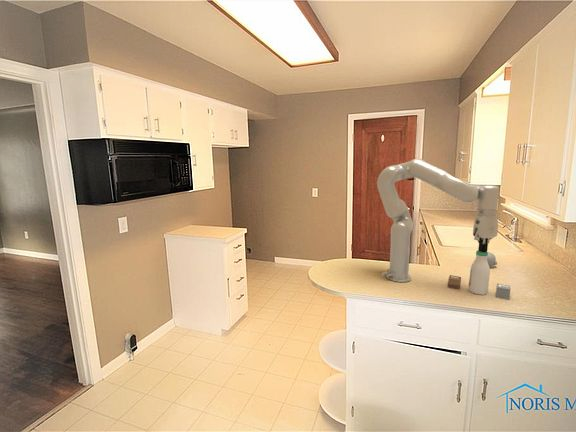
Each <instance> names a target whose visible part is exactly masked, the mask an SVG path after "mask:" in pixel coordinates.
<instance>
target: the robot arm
mask: <svg viewBox="0 0 576 432" xmlns="http://www.w3.org/2000/svg"><path fill="white" fill-rule="evenodd" d="M411 178H416V179H418V180H420V181H422V182H424V183H427V184H429V185H430V186H432V187H435V188H436V189H438V190H439V191H442V192H444V193H446V194H448V195H450V196H451V197H454V198H456V199H458V201H459V200H460V201H461V202H464V203H473V202H474V201H476V200H477V206H476V216H475V218H474V223H473V228H472V229H473V230H472V235H473V237H474V238H473V240H474V241H477V243H478V247H477V249H478V250H477V251H481V252H488V249H489V248H488V247H489V244H490V241H491V240H493V239H494V238H496V237H497V236H498V231H499V229H498V228H499V222H498V221H499V220H498V215H497V212H498V202H499V195H500V194H499V193H500V188H499V186H498V185H495V184H494V185H493V184H488V185H487V184H483V185H479V184H471V183H466V182H464V181H462V180H459V179H458V178H456V177H454V176H453V175H452V174H450V173H449V172H447V171H446V170H444V169H442V168H439V167H437V166H435V165H433V164H431V163H429V162H428V161H425V159H424V160H423V159H422V158H414V159H412V160H409V161H407V162H402V163H397V164H395V165H390V166H387V167H384V169H383V170H382V171H381V172H380V173H379V174H378V177H377V180H376V181H377V182H376V184H377V185H376V187H377V190H378V193H379V196H380V200H381V202H382V204H383V205H382V206H383V208H384V210H385V211H384V212H385V214H386V215H387V217H388V218H391V219H392V222H393V224H392V225H391V227H390V251H389V253H390V254H389V268H388V269H387V271H382V272H381V275H382V276H383V277H384V276H385V277H386V279H388V280H389V281H393V282H396V283H406V282H407V283H408V282H410V281H411V280H412V276H411V275H410V274H409V271H410V270H409V269H410V268H409V266H410V253H411V252H410V249H411V234H412V232H413V229H414V222H413V219H412V217H411V216H412V215H411V213H410V211H409V207H408V205H407V204H406V202H405V201H404V200H403V199H401V198H400V196H399V194H398V190H397V189H396V186H395V183H396V182H399V181H402V180H406V179H411Z"/></svg>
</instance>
